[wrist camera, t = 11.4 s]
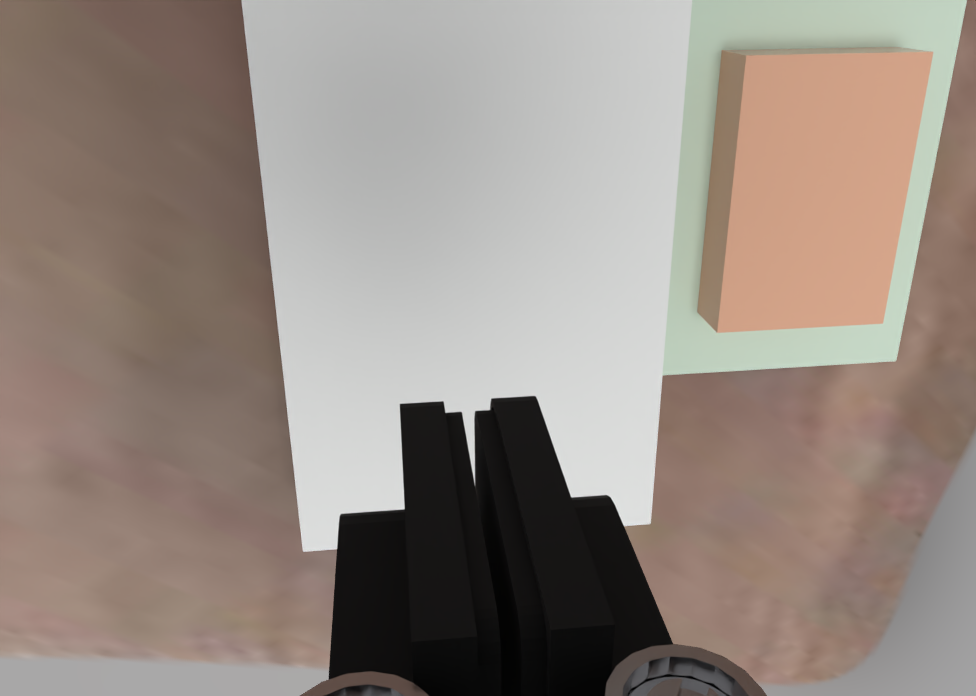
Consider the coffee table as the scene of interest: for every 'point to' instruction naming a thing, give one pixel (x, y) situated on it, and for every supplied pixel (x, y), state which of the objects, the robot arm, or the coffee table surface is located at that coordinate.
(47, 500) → the coffee table surface
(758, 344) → the mat
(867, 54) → the tile
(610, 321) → the white flat block
